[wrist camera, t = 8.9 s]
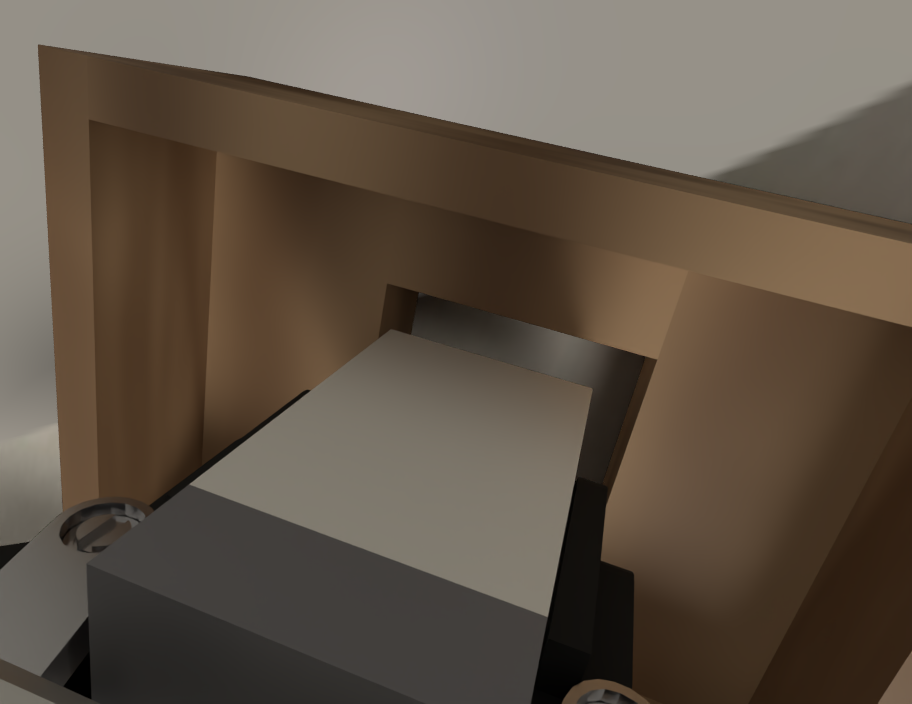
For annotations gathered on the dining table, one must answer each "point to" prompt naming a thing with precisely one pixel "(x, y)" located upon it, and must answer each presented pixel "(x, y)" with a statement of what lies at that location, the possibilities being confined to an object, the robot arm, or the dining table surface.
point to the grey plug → (354, 545)
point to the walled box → (518, 297)
